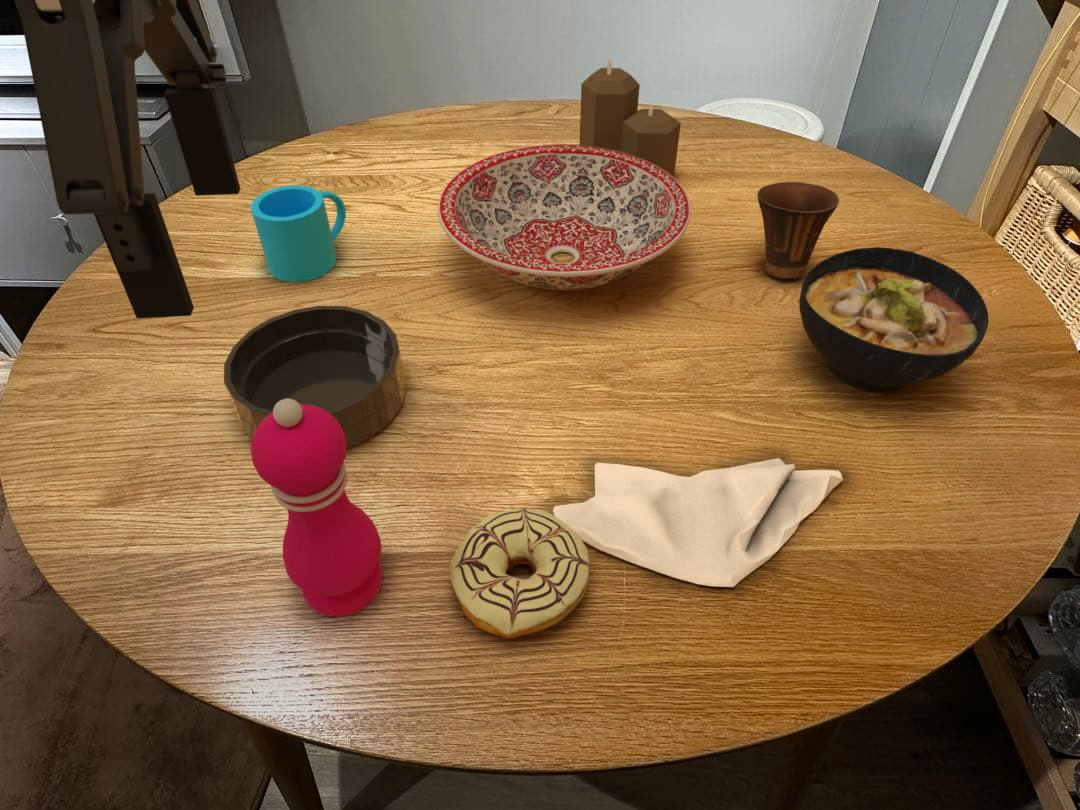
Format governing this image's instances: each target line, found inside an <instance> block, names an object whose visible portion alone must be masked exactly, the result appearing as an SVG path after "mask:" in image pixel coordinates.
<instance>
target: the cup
mask: <svg viewBox="0 0 1080 810" xmlns="http://www.w3.org/2000/svg"><path fill="white" fill-rule="evenodd" d="M756 194H757V195H756V197H757V202H758V205H759V209H760V211H761V217H762V223H763V232H764V243H765V245H764V246H765V250H764V251H765V259H764V266H763V268H764V269H763V270H764V271H765V272H766V274H768V275H769V276H771V277H773V278H777V279H782V280H792V279H793V280H795V279H799V278H801V277H803V276H804V275H805V274H806V273H807V269H808V265H809V262H810V259H811V257H812V254H813V252H814V251H815V250H814V249H815V248H816V244H817V242H818V241H819V238H820V236H821V234H822V232H823V229H824V227H825V226H826V223H827V222H828V220H829V219H830V217H831V216H832V215H833V213H834V212H835V210H836V209H837V207H838V205H839V204H840V198H839V196H838V194H837V193H835V191H833V190H831V189H829V188H827V187H825V186H822V185H818V184H814V183H808V182H802V181H801V182H800V181H782V182H774V183H771V184H767V185H765V186H762V187H760V189H759V190H758V191H757V193H756Z"/></svg>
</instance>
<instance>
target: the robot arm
mask: <svg viewBox="0 0 1080 810" xmlns="http://www.w3.org/2000/svg"><path fill="white" fill-rule="evenodd" d="M13 1H14V4H15V6H16V9H17V12H18V15H19V18H20V21H21V25H22V30H23V35H24V41H25V46H26V50H27V51H26V52H27V55H28V61H29V66H30V72H31V76H32V81H33V86H34V92H35V95H36V103H37V106H38V107H37V108H38V113H39V117H40V123H41V127H42V132H43V137H44V142H45V148H46V152H47V157H48V162H49V168H50V172H51V179H52V182H53V183H52V184H53V189H54V194H55V197H56V202H57V206H58V208H59V210H60V211H61V213H63V214H64V215H67V216H68V215H72V216H73V215H94V218H95V220H96V223H97V225H98V228H99V230H100V232H101V235H102V238H103V240H104V241H105V245H106V247H107V250H108V252H109V254H110V257H111V259H112V262H113V264H114V267H115V270H116V271H117V274H118V276H119V279H120V281H121V284H122V286H123V288H124V291H125V293H126V296H127V298H128V300H129V303H130V305H131V308H132V311H133V313H134V315H135V318H136V319H151V318H153V319H154V318H173V317H174V318H175V317H191V316H192V314H193V312H194V309H195V307H194V303H193V301H192V298H191V295H190V291H189V288H188V286H187V283H186V279H185V277H184V274H183V271H182V269H181V266H180V263H179V259H178V257H177V254H176V251H175V249H174V246H173V243H172V239H171V237H170V234H169V230H168V229H167V225H166V222H165V219H164V216H163V214H162V213H163V212H162V210H161V208H160V205H159V202H158V198H157V195H156V194H155V192H149V193H145V187H144V186H145V185H144V184H145V183H144V173H143V172H144V171H143V160H142V157H143V156H142V145H141V143H142V142H141V133H140V132H141V131H140V130H141V129H140V117H139V106H138V105H139V103H138V91H137V77H136V65H135V64H136V61H137V60H138V59H139V58H140V57H142V56H143V54H144V53H146V54H147V56H148V57H149V58H150V60H151V61H152V62H153V64H154V65H155V67H156V68H157V70H158V71H159V72H160V74H161V75H162V76H163V78H164V79H165V80H166V82H167V83H168V85H170V86H176V87H177V88H167V89H166V90H165V92H164V98H165V101H166V104H167V108H168V111H169V114H170V117H171V122H172V124H173V127H174V130H175V133H176V137H177V140H178V143H179V147H180V150H181V154H182V157H183V160H184V163H185V166H186V169H187V173H188V176H189V179H190V183H191V185H192V186H191V187H192V189H193V192H194V195H195V197H197V196H224V195H225V196H226V195H239V194H240V191H241V186H240V181H239V178H238V174H237V170H236V166H235V163H234V159H233V156H232V152H231V147H230V144H229V139H228V136H227V131H226V129H225V124H224V121H223V117H222V113H221V109H220V105H219V102H218V98H217V95H216V91H215V88H214V87H211V88H210V87H209V85H225V84H226V83H227V73H226V72H227V71H226V69H225V65H224V64H223V63H217V57H218V51H217V48H216V47H215V44H214V42H213V39H212V36H211V35H210V32H209V29H208V27H207V25H206V22H205V19H204V18H203V15H202V12H201V10H200V7H199V5H198V2H197V1H196V0H13Z"/></svg>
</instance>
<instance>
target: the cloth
mask: <svg viewBox="0 0 1080 810" xmlns="http://www.w3.org/2000/svg"><path fill="white" fill-rule="evenodd" d="M842 481H844V478H843V474H842V473H841V472H840V471H839V470H838V469H837V470H835V469H801V470H796V463H791V464H790V463H789V464H786V463H785V462H784V461H783V460H781V459H780V457H776V458H773V459H772V458H771V459H767V460H766V459H765V460H762V461H757V462H756V461H755V462H751V463H746V464H741V465H735V466H731V467H725V468H724V467H723V468H717V469H715V468H714V469H707V470H702V471H701V472H698V473H695V474H693V475H692V476H682V475H677V474H673V473H669V472H665V471H661V470H656V469H651V468H648V467H641V466H634V465H627V464H619V463H605V462H604V463H603V462H596V463H595V464H594V496H593V497H591V498H589V499H588V500H586V501H583V502H576V503H568V504H560V505H555V506H554V507H553V509H552V512H553V515H554V516H556V517H557V518H558V519H560V520H561V521H562V522H563V523H565V524H566V525H567V526H569V527H570V528H571V529H572V530H574V531H575V532H576V533H577V534H578V535H579V537H580V538H581V540H582V541H583V543H584V544H587V545H588V546H591V547H593V548H595V549H597V550H599V551H601V552H604V553H606V554H609V555H611V556H614V557H617V558H619V559H621V560H624V561H626V562H629V563H632V564H634V565H637V566H640V567H642V568H646V569H648V570H651V571H654V572H656V573H659V574H663V575H665V576H668V577H670V578H673V579H676V580H681V581H685V582H689V583H692V584H695V585H696V584H697V585H702V586H707V587H719V588H720V587H723V588H735V586H736V585H738V583H739V582H740V581H742V580H744V578H746V577H747V576H749V575H750V574H751V573H753V572H754V571H755V570H756V569H758V568H759V567H760V566H762V565H763V564H765V563H766V562H767V561H769V560H770V559H771V558H772V557H773V556H775V554H776V553H777V552H778V551H779V550H780V549H781V548H782V547H783V546H784V544H785V543H786V542H787V541H788V540H789V539H790V538H791V537H792V535H794V534H795V532H796V531H797V529H798V527H799V525H800V522H802V521H803V520H804V519H806V518H807V517H808V516H809V515H811V514H812V513H813V512H814V511H816V510H817V508H818V507H820V505H821V503H822V502H823V501H824V500H825V499H826V498H827V496H828V495H829V494H830V493H831V492H832V490H834V488H836V487H837V486H838V485H840V483H841V482H842Z"/></svg>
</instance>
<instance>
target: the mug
mask: <svg viewBox="0 0 1080 810" xmlns="http://www.w3.org/2000/svg"><path fill="white" fill-rule="evenodd" d="M325 199H328V200H331V201H332V202H333V203H334V205H335V207H336V218H335V221H334V224H333V226H332V228H331V227H330V222H329V218H328V214H327V208H326V203H325ZM250 211H251V214H252V218H253V222H254V225H255V228H256V231H257V235H258V238H259V242H260V245H261V248H262V252H263V256H264V259H265V262H266V265H267V269H268V271H269V273H270V275H271V276H273V277H274V278H275V279H277V280H281V281H283V282H291V283H299V282H307V281H312V280H315V279H318V278H321V277H323V276H324V275H327V274H328V273H329V272H330V271H331V270H332V269H333V268H334V267H335V265H336V264H337V254H336V249H335V245H334V241H335V240H336V239H337V237H339V235H340V233H341V232H342V230H343V227H344V225H345V221H346V217H347V214H346V213H347V210H346V205H345V203H344V201H343V199H342V198H341V197H340V196H339V195H337V193H334V192H331V191H328V190H317V189H316V188H314V187H312V186H311V187H310V186H306V185H294V184H293V185H282V186H279V187H274V188H271V189H269V190H266V191H264V192H262V193H260V194H259V195H258V196H256V197H255V198H254V200H253V201H252V202H251V204H250Z"/></svg>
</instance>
